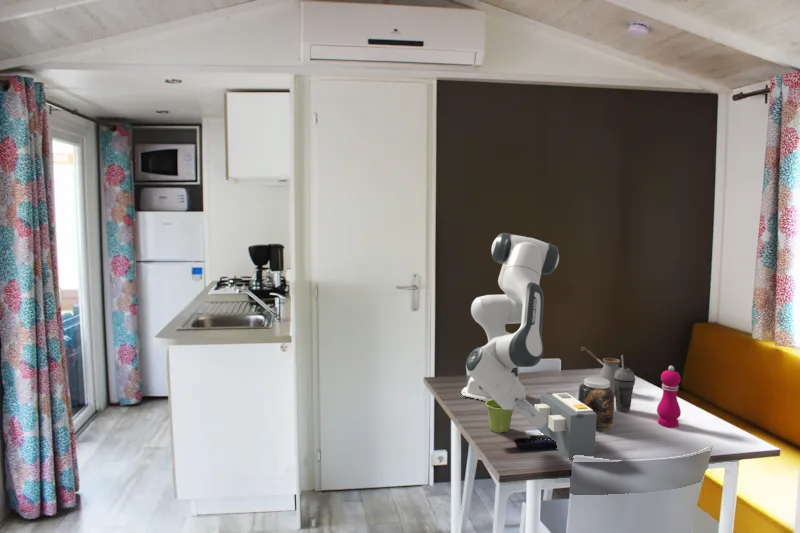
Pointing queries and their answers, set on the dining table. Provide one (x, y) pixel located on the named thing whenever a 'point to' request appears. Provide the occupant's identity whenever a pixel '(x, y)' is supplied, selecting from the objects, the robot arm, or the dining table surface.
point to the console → (571, 425)
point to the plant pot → (498, 417)
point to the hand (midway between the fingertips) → (540, 424)
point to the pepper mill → (669, 399)
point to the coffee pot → (607, 367)
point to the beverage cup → (624, 388)
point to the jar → (598, 400)
